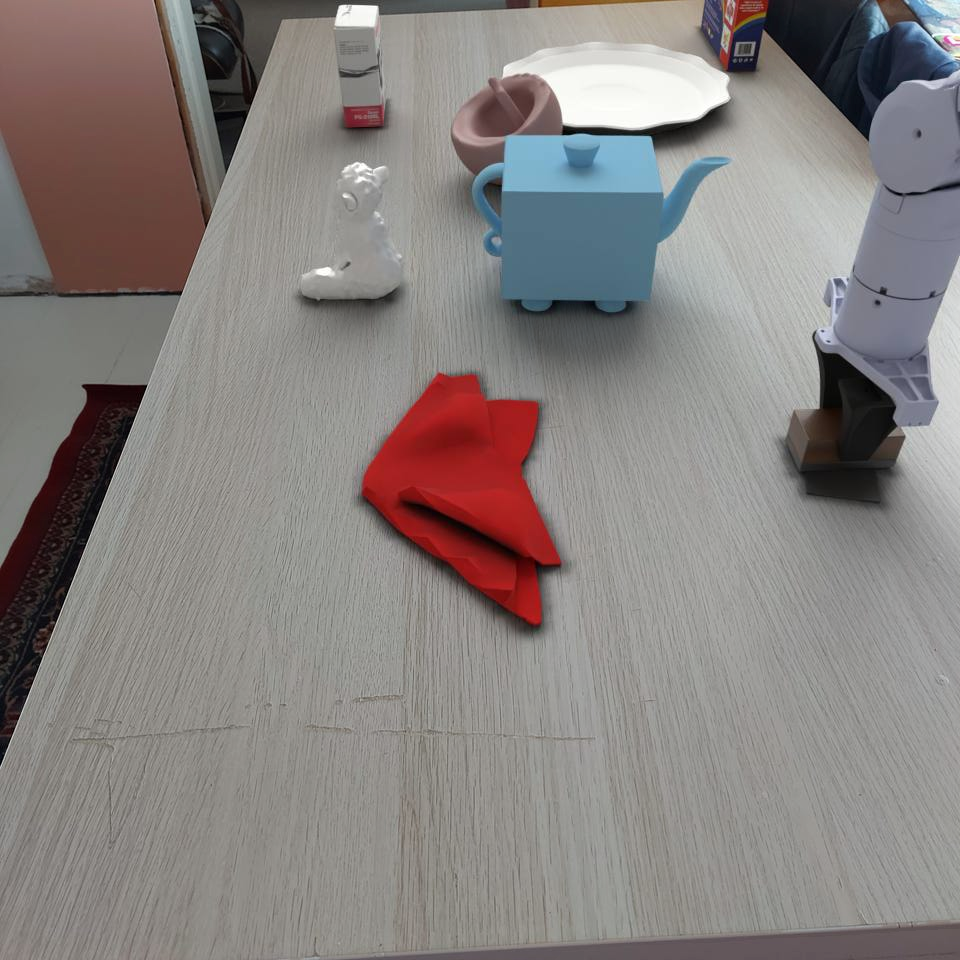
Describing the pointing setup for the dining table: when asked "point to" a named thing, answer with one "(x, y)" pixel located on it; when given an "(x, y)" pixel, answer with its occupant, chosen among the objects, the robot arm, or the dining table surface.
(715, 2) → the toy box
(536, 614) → the cloth
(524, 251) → the teapot
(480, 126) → the mortar and pestle
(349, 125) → the ink box
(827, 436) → the eraser
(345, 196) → the seated beast figurine
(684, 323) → the dining table surface
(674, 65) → the plate
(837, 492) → the dark grey flat slab
